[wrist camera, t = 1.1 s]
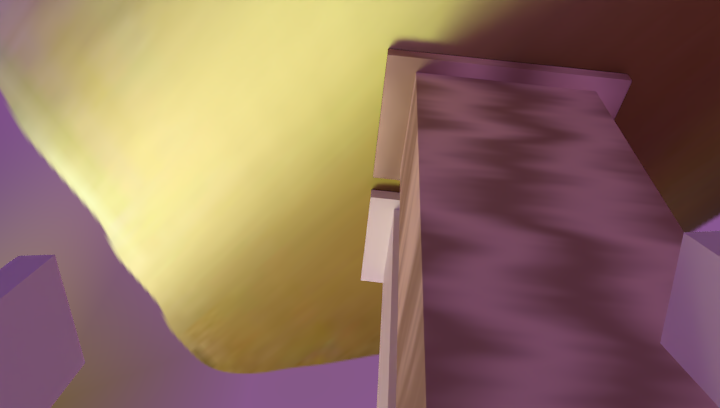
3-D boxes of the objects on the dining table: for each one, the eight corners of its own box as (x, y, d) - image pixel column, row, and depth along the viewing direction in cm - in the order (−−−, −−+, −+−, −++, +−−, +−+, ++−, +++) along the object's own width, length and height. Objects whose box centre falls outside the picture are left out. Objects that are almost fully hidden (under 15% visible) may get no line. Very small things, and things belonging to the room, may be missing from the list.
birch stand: (373, 169, 40) (310, 889, 14) (388, 48, 34) (321, 959, 7) (574, 191, 40) (893, 957, 14) (627, 73, 34) (1407, 1084, 7)
